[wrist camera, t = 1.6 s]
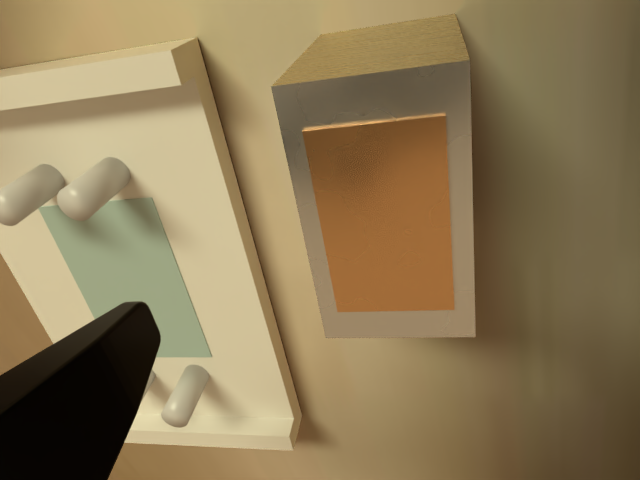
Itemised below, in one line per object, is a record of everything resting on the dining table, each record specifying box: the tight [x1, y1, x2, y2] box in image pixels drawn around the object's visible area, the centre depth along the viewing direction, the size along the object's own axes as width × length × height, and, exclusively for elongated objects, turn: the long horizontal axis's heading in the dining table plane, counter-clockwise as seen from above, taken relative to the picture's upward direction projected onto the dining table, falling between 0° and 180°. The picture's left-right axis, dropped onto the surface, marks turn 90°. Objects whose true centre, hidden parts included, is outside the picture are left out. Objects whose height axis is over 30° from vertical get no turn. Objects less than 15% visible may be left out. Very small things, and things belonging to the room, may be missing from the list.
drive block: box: [271, 14, 476, 338], centre depth 14 cm, size 4×7×6 cm, turn 10°
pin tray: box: [0, 37, 302, 451], centre depth 20 cm, size 11×18×4 cm, turn 10°
